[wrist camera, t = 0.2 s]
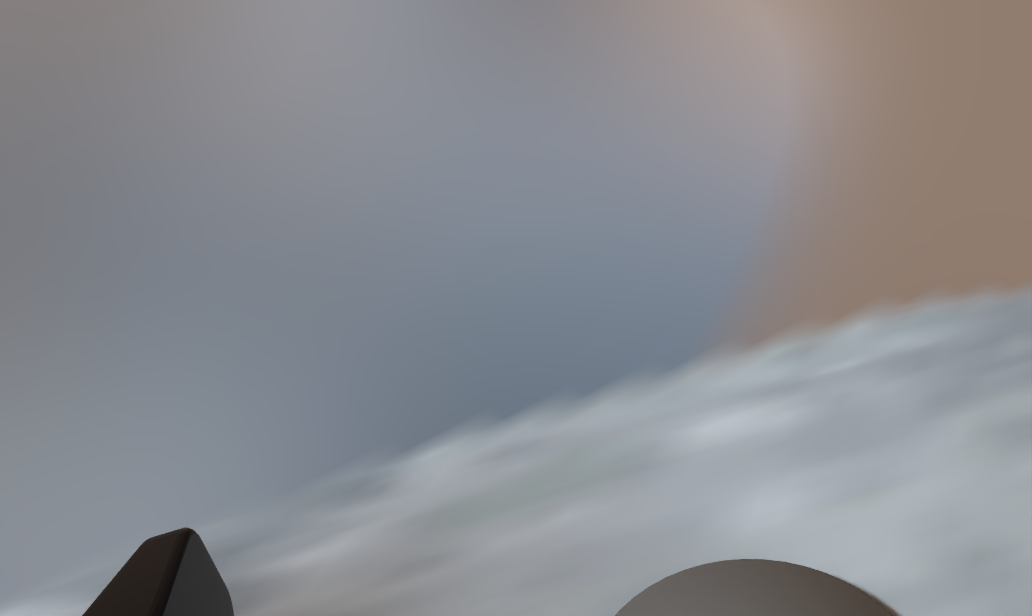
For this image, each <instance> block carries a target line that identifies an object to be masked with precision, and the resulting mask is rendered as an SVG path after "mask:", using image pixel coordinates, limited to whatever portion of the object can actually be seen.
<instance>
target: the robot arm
mask: <svg viewBox="0 0 1032 616" xmlns="http://www.w3.org/2000/svg"><path fill="white" fill-rule="evenodd" d="M82 616H234V612H233V606H232V601H231V598H230V595H229V592H228V589H227V587H226V585H225V583H224V581H223V579H222V578H221V576H220V574H219V572H218V570H217V568H216V566H215V564H214V562H213V561H212V559H211V557H210V555H209V553H208V551H207V549H206V547H205V545H204V543H203V542H202V540H201V538H200V536H199V535H198V534H197V533H196V532H195V531H194V530H193V529H190V528H187V527H186V528H181V529H178V530H175V531H171V532H168V533H165V534H161V535H158V536H155V537H152V538H149V539H147V540H146V541H145V542H144V543H143V544H142V545H141V546H140V547H139V548H138V549H137V550H136V552H135V553H134V554H133V555H132V556H131V558H130V559H129V560H128V561H127V562H126V564H125V565H124V566H123V567H122V568H121V570H120V571H119V572H118V573H117V574H116V576H115V577H114V578H113V579H112V581H111V582H110V583H109V584H108V585H107V587H106V588H105V589H104V590H103V591H102V593H101V594H100V595H99V596H98V597H97V599H96V600H95V601H94V602H93V603H92V605H91V606H90V607H89V608H88V609H87V611H86V612H85V613H84V614H83V615H82Z"/></svg>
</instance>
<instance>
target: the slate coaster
mask: <svg viewBox="0 0 1032 616" xmlns="http://www.w3.org/2000/svg"><path fill="white" fill-rule="evenodd" d="M615 616H893V615H891V614H890V613H889V612H888V611H887V610H886V609H885V608H884V607H883V606H882V605H880V604H879V603H878V602H876V601H875V600H873V599H872V598H871V597H869V596H868V595H867V594H865V593H864V592H862V591H860V590H859V589H857V588H855V587H853V586H852V585H850V584H848V583H846V582H845V581H842V580H840V579H838V578H836V577H833V576H831V575H829V574H826V573H824V572H821V571H818V570H815V569H812V568H808V567H805V566H801V565H796V564H792V563H787V562H781V561H772V560H763V559H739V560H727V561H719V562H714V563H708V564H703V565H700V566H696V567H693V568H689V569H686V570H683V571H681V572H678V573H676V574H673V575H671V576H669V577H666V578H664V579H663V580H661V581H659V582H657V583H655V584H653V585H652V586H650V587H648V588H647V589H645V590H644V591H643V592H641V593H640V594H638V595H637V596H635V597H634V598H633V599H632V600H631V601H630V602H628V603H627V604H626V605H625V606H624V607H623V608H622V609H621V610H620V611H619V612H618V613H617V614H616V615H615Z"/></svg>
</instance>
